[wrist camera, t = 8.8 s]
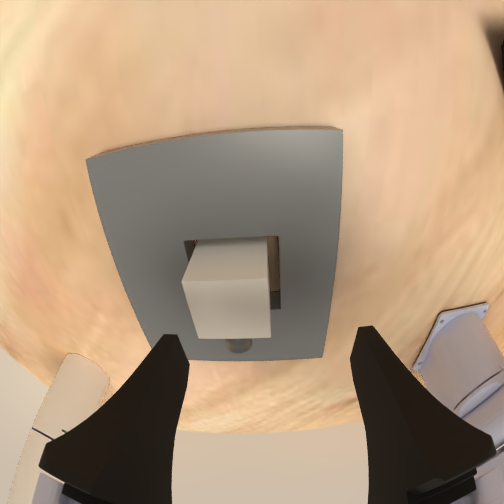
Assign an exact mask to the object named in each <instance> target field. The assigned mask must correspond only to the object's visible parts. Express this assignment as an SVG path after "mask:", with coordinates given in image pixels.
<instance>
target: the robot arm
mask: <svg viewBox="0 0 504 504" xmlns="http://www.w3.org/2000/svg"><path fill="white" fill-rule="evenodd" d="M488 308H489V304H488V303H483V304H479V305H474V306H470V307H465V308H460V309H456V310H451V311H445V312H442V313H441V314H440V315H439V316H438V319H437V321H436V323H435V325H434V327H433V329H432V331H431V334H430V336H429V338H428V340H427V342H426V343H425V345H424V347H423V349H422V351H421V353H420V355H419V357H418V358H417V360H416V362H415V364H414V366H413V370H419V369H420V372H421V374H422V377H423V380H424V382H425V385H426V387H427V389H426V388H425V387H424V386H423V385H422V384H421V383H420V382H419V381H418V380H417V379H416V378H415V377H414V376H413V375H412V374H411V372H410V371H409V370H408V369H407V368H406V367H405V365H404V364H403V363H402V362H401V361H400V359H399V358H398V357H397V356H396V355H395V353H394V352H393V351H392V350H391V348H390V347H389V346H388V344H387V343H386V342H385V341H384V339H383V338H382V337H381V335H380V334H379V333H378V331H377V330H376V329H375V328H374V327H373V326H365V327H358V331H357V335H356V339H355V342H354V346H353V350H352V353H351V357H350V362H351V369H352V376H353V381H354V385H355V389H356V393H357V397H358V401H359V405H360V409H361V413H362V417H363V421H364V425H365V430H366V439H367V449H368V465H369V493H368V504H504V446H503V447H501V448H500V449H498V450H497V451H496V449H497V448H498V447H500V446H501V445H503V444H504V357H503V355H502V353H501V351H500V350H499V348H498V346H497V344H496V343H495V341H494V339H493V338H492V336H491V335H490V333H489V331H488V330H487V328H486V327H485V325H484V324H483V322H482V320H483V318H484V316H485V314H486V312H487V310H488ZM189 365H190V364H189V361H188V359H187V357H186V354H185V352H184V350H183V347H182V345H181V342H180V340H179V337H178V335H177V334H163V335H162V337H161V338H160V339H159V341H158V342H157V343H156V344H155V346H154V347H153V348H152V350H151V351H150V352H149V354H148V355H147V356H146V358H145V359H144V360H143V361H142V363H141V364H140V365H139V366H138V368H137V369H136V370H135V371H134V373H133V374H132V375H131V376H130V377H129V378H128V380H127V381H126V382H125V383H124V384H123V385H122V386H121V388H120V389H119V390H118V391H117V392H116V393H115V394H114V395H113V396H112V397H111V398H110V399H109V400H108V401H107V402H106V403H105V404H104V405H103V406H101V407H100V408H99V409H98V410H97V411H96V412H94V413H93V414H92V415H91V416H90V417H88V418H87V419H86V420H84V421H83V422H82V423H80V424H79V425H77V426H76V427H74V428H73V429H71V430H70V431H68V432H67V433H65V434H63V435H61V436H59V437H57V438H56V439H54V440H52V441H50V442H48V443H46V445H45V447H44V450H43V453H42V456H41V459H40V462H39V465H38V466H39V468H41V469H42V470H44V471H45V472H47V473H49V474H50V475H52V476H54V477H56V478H57V479H59V480H61V481H63V482H64V484H63V483H61V482H59V481H57V480H55V479H53V478H51V477H49V476H48V475H46V474H44V473H42V472H41V473H40V475H39V478H38V482H37V485H36V489H35V492H34V496H33V500H32V504H172V495H171V494H172V491H171V482H172V479H171V478H172V460H173V448H174V440H175V433H176V428H177V424H178V420H179V416H180V412H181V408H182V404H183V400H184V396H185V392H186V388H187V382H188V374H189Z"/></svg>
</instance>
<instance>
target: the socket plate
mask: <svg viewBox="0 0 504 504" xmlns="http://www.w3.org/2000/svg"><path fill="white" fill-rule="evenodd" d="M86 164H87V169H88V173H89V178H90V182H91V186H92V190H93V194H94V198H95V202H96V205H97V209H98V212H99V216H100V219H101V223H102V226H103V229H104V232H105V236H106V239H107V242H108V245H109V248H110V251H111V254H112V256H113V259H114V262H115V265H116V268H117V270H118V273H119V276H120V278H121V281H122V283H123V286H124V288H125V291H126V293H127V296H128V298H129V301H130V303H131V305H132V308H133V310H134V312H135V314H136V317H137V319H138V321H139V323H140V325H141V328H142V330H143V332H144V334H145V336H146V338H147V340H148V342H149V344H150V346H151V348H153V347H154V346H155V344H156V343H157V342H158V341H159V339H160V338H161V337H162V335H163V334H177V335H178V337H179V340H180V342H181V345H182V347H183V350H184V352H185V354H186V357H187V359H188V360H206V361H273V360H294V359H309V358H322V356H323V351H324V346H325V340H326V334H327V328H328V322H329V315H330V308H331V301H332V294H333V286H334V278H335V269H336V260H337V250H338V239H339V227H340V213H341V195H342V168H343V130H341V129H338V128H336V127H319V126H298V127H266V128H250V129H237V130H226V131H216V132H208V133H200V134H192V135H185V136H179V137H173V138H167V139H161V140H156V141H150V142H145V143H140V144H135V145H131V146H126V147H122V148H118V149H114V150H110V151H106V152H102V153H99V154H97V155H95V156H92V157H90V158H88V159H86ZM262 236H278V245H279V285H280V291H279V292H270V313H271V338H252V342H253V344H252V347H251V348H250V349H249V350H248V351H247V352H244V353H240V354H237V353H233V352H231V351H229V350H228V349H227V346H226V342H225V339H199V338H198V335H197V332H196V329H195V326H194V322H193V319H192V316H191V313H190V309H189V306H188V303H187V299H186V296H185V293H184V289H183V286H182V282H181V281H182V279H183V276H184V274H185V271H186V269H187V266H188V264H189V262H190V259H191V257H192V254H193V252H194V249H195V245H194V240H203V239H222V238H241V237H262Z"/></svg>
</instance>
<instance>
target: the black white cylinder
mask: <svg viewBox="0 0 504 504" xmlns="http://www.w3.org/2000/svg"><path fill="white" fill-rule="evenodd" d="M502 59H503V71H504V40H503V44H502Z"/></svg>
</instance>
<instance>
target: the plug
mask: <svg viewBox="0 0 504 504" xmlns="http://www.w3.org/2000/svg"><path fill="white" fill-rule="evenodd" d="M181 282H182V286H183V289H184V293H185V296H186V299H187V303H188V306H189V309H190V313H191V316H192V319H193V322H194V326H195V329H196V332H197V335H198V338H199V339H225V342H226V346H227V349H228V350H229V351H231V352H233V353H237V354H240V353H244V352H247V351H248V350H249V349H250V348H251V347H252V344H253V342H252V338H271V313H270V279H269V262H268V246H267V236H262V237H241V238H222V239H203V240H198V242H197V245H196V247H195V249H194V252H193V254H192V257H191V259H190V262H189V264H188V266H187V269H186V271H185V274H184V276H183V279H182V281H181Z"/></svg>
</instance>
